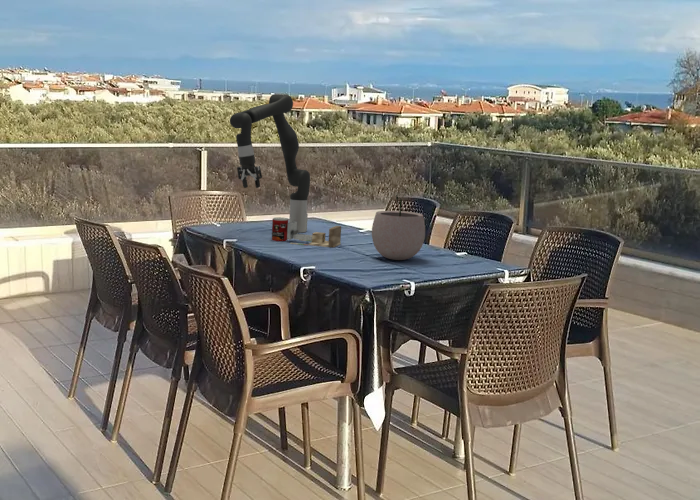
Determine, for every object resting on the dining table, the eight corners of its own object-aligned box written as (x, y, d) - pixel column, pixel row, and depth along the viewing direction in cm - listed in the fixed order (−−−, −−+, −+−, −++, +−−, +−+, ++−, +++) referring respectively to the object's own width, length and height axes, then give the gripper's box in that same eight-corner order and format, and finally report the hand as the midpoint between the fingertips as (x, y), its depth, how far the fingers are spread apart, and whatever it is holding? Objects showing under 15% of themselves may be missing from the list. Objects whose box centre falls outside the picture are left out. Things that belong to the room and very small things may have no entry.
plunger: (287, 239, 398) (287, 223, 397) (293, 237, 407) (294, 221, 406) (310, 241, 395) (311, 225, 394) (316, 239, 404) (317, 223, 402)
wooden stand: (289, 243, 395) (290, 225, 394) (300, 239, 409) (300, 222, 408) (332, 248, 389) (333, 229, 388) (341, 243, 404) (342, 225, 402)
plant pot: (415, 255, 382) (420, 191, 377) (429, 264, 358) (434, 196, 354) (365, 254, 377) (369, 189, 373) (376, 263, 354) (380, 194, 349)
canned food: (269, 240, 402) (269, 218, 400) (276, 238, 409) (277, 216, 408) (282, 242, 399) (283, 219, 398) (290, 240, 407) (291, 218, 405)
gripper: (262, 152, 392) (267, 186, 396) (241, 153, 401) (247, 185, 405) (251, 155, 386) (256, 189, 390) (230, 156, 395) (236, 189, 399)
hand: (251, 187), depth 397 cm, fingers open, 8 cm apart
